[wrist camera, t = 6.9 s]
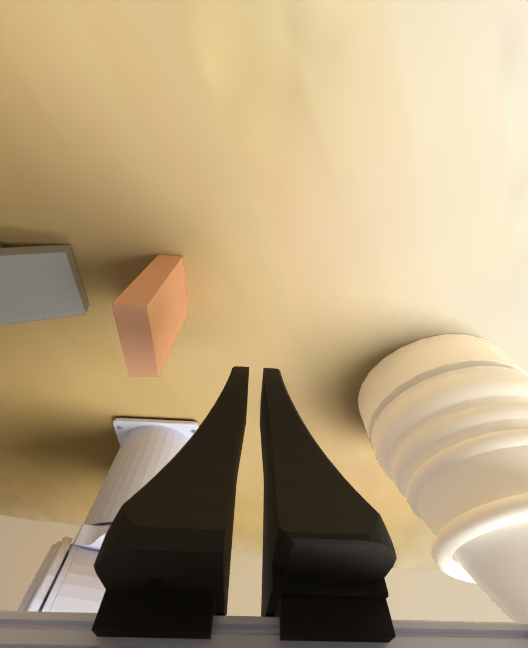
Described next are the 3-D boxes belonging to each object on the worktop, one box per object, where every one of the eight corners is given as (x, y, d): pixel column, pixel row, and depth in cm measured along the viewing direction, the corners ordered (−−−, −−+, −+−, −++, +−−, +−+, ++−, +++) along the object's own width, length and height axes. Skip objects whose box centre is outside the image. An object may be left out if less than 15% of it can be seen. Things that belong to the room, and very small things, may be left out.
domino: (86, 314, 20) (-44, 330, 18) (89, 303, 21) (-32, 317, 19) (65, 251, 17) (-87, 261, 15) (70, 244, 19) (-70, 251, 16)
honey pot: (354, 442, 30) (449, 757, 14) (362, 341, 23) (556, 735, 8) (484, 433, 29) (730, 757, 14) (531, 325, 22) (1128, 730, 7)
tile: (187, 313, 21) (158, 377, 16) (166, 311, 21) (128, 375, 16) (183, 256, 19) (146, 306, 13) (158, 254, 19) (111, 303, 13)
